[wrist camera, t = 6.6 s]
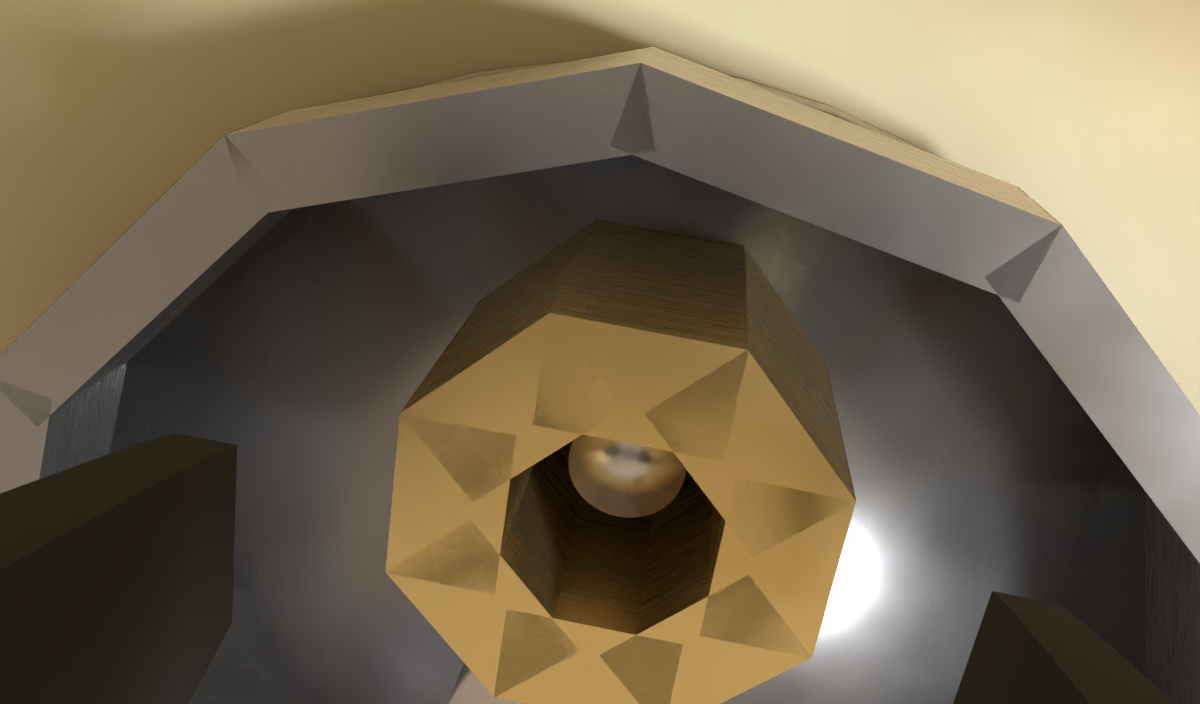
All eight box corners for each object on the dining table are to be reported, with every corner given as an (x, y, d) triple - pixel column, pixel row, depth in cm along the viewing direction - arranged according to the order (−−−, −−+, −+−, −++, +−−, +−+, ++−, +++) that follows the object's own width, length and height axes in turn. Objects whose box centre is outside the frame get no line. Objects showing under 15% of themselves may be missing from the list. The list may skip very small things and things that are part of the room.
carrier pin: (642, 418, 16) (618, 537, 13) (583, 350, 16) (544, 455, 13) (714, 366, 16) (710, 476, 12) (655, 295, 15) (634, 390, 12)
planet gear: (603, 595, 17) (566, 781, 13) (405, 351, 16) (303, 478, 12) (880, 441, 15) (927, 600, 12) (683, 158, 14) (666, 233, 10)
